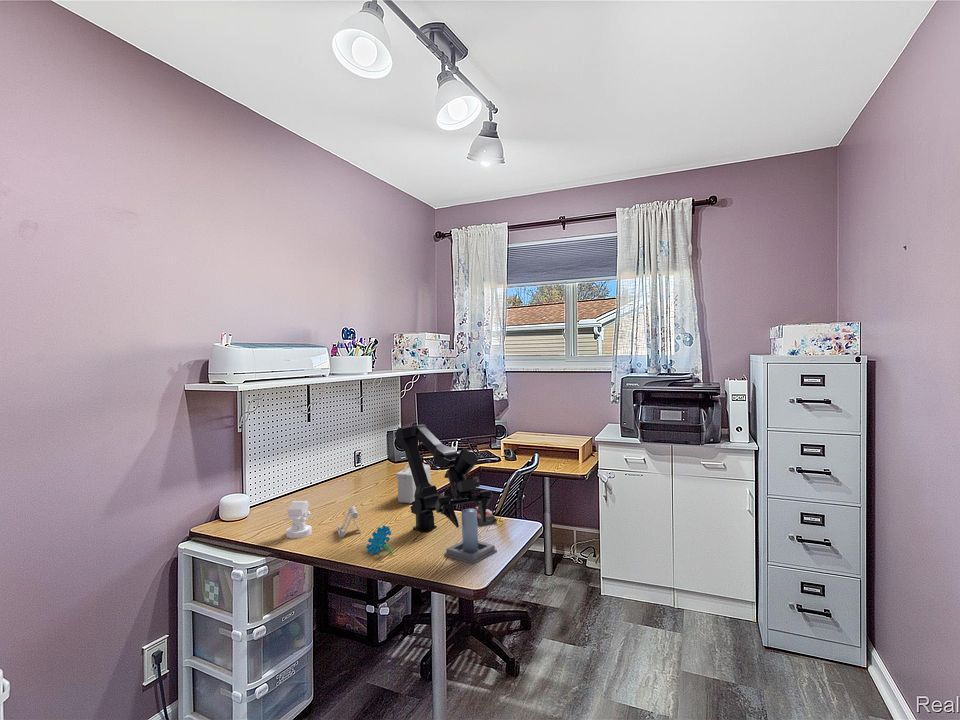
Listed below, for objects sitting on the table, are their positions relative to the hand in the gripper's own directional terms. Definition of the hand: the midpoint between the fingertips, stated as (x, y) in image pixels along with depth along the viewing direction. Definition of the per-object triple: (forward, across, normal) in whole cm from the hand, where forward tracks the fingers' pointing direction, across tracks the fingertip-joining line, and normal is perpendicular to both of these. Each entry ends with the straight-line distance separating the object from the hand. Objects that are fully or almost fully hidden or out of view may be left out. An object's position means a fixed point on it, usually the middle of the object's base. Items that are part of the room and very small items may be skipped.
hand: (471, 524), depth 155 cm
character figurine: (-26, -50, +40) cm, 69 cm away
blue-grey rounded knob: (+5, 0, +7) cm, 9 cm away
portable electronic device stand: (-21, -33, +35) cm, 52 cm away
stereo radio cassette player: (-44, +1, +58) cm, 73 cm away
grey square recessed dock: (+6, 0, +8) cm, 10 cm away
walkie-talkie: (-16, +17, +31) cm, 39 cm away
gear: (-5, -26, +19) cm, 32 cm away
